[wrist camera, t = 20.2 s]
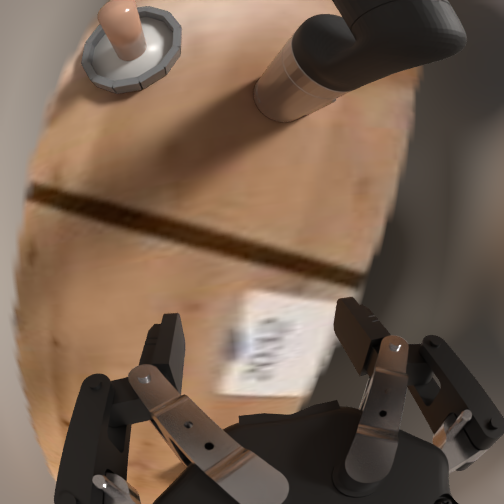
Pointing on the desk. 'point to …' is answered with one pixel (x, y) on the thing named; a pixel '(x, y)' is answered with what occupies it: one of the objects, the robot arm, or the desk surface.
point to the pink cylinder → (123, 28)
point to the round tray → (143, 68)
